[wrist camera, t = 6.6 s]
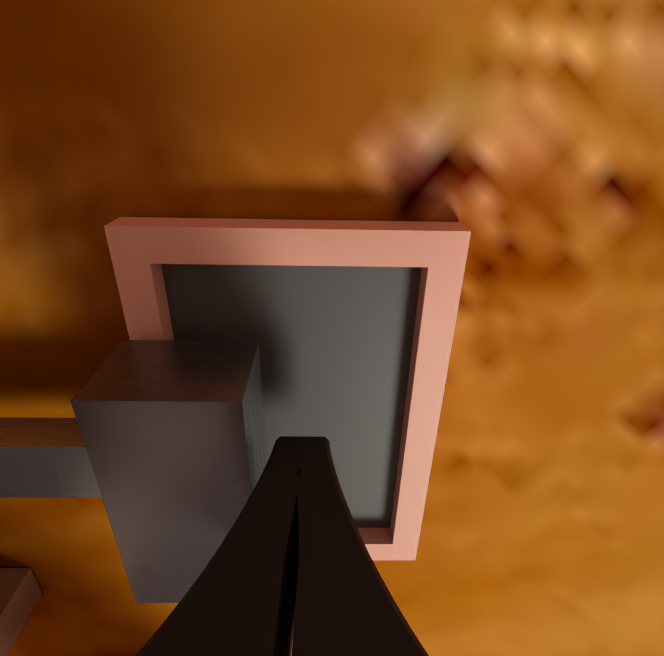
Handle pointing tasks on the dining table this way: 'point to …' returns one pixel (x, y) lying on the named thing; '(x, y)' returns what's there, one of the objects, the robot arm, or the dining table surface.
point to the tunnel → (16, 603)
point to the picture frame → (318, 336)
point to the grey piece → (153, 454)
